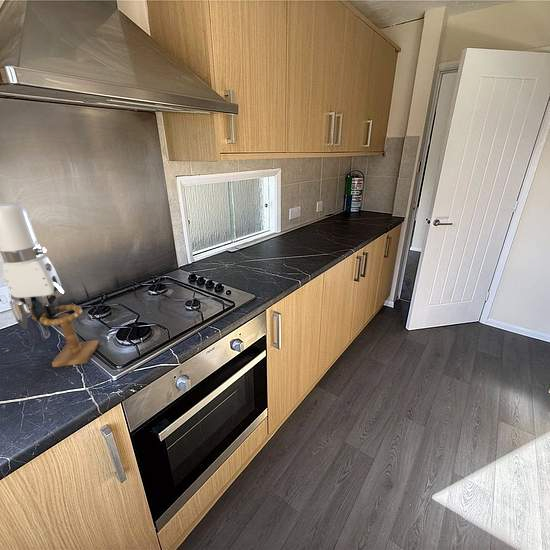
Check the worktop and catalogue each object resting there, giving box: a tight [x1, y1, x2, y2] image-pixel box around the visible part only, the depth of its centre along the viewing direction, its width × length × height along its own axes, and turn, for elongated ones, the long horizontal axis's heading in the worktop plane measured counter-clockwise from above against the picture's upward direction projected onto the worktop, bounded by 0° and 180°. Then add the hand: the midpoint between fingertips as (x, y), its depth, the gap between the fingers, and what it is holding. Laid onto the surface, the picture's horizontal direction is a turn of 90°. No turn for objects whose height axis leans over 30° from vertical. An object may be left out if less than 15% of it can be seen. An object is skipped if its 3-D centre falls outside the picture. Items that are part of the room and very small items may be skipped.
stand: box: [51, 312, 100, 368], centre depth 83 cm, size 9×9×14 cm
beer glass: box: [9, 296, 52, 345], centre depth 90 cm, size 7×7×15 cm
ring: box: [40, 304, 84, 327], centre depth 81 cm, size 10×10×2 cm
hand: (46, 316), depth 80 cm, fingers closed on ring, 2 cm apart
